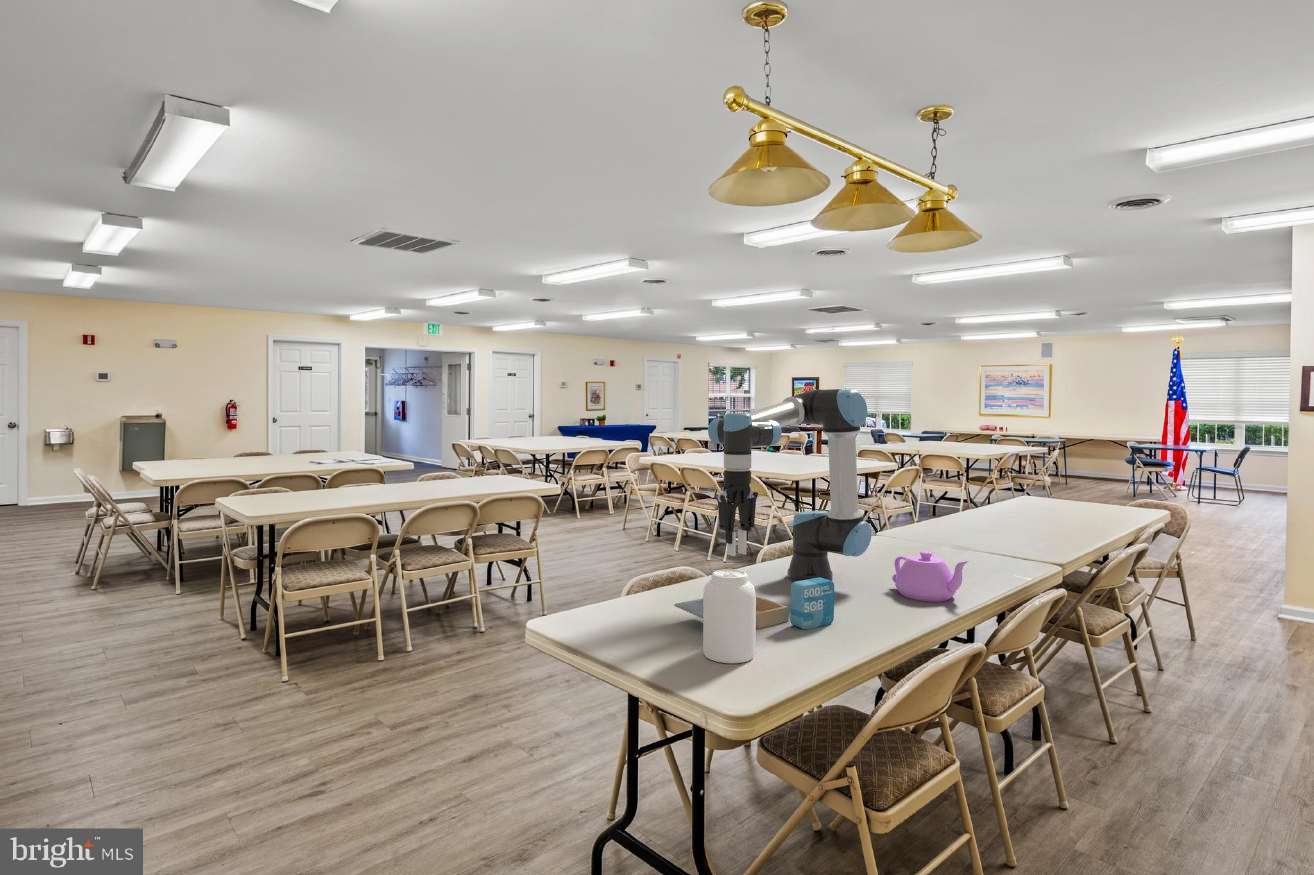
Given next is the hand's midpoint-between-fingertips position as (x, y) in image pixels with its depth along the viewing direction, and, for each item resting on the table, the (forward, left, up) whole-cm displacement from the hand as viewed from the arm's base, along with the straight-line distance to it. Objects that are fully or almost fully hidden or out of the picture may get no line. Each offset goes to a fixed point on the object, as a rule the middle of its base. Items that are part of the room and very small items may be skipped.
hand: (736, 554), depth 187 cm
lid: (+10, 0, -14) cm, 17 cm away
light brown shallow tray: (-6, 0, -19) cm, 20 cm away
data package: (-15, +14, -19) cm, 28 cm away
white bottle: (+18, +19, -19) cm, 32 cm away
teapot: (-66, +14, -19) cm, 70 cm away
